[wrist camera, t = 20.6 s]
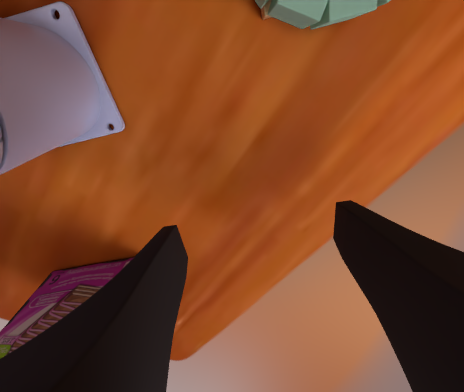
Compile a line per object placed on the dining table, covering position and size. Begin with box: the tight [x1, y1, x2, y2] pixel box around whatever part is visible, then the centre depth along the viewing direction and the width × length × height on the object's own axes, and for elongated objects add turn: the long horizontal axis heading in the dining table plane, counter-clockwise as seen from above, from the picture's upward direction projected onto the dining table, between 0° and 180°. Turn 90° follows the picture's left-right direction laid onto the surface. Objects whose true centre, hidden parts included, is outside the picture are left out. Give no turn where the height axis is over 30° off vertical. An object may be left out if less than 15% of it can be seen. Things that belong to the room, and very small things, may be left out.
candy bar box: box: [0, 258, 133, 359], centre depth 19 cm, size 11×5×16 cm, turn 101°
